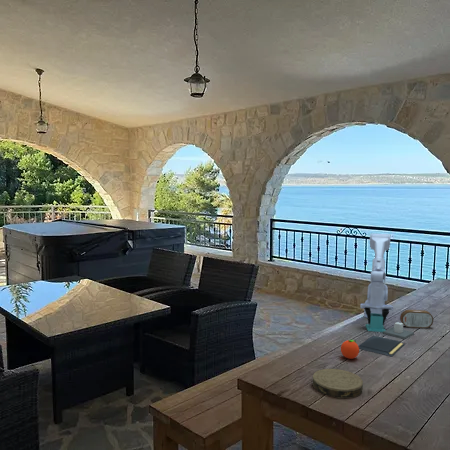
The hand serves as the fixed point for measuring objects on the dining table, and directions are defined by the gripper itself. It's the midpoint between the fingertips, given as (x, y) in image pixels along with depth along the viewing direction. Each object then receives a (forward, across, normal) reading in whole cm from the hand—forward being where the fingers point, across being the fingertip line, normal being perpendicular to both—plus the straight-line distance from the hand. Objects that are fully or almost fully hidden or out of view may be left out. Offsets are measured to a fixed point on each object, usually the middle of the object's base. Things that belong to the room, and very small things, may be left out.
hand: (375, 324), depth 201 cm
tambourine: (+3, -22, -68) cm, 71 cm away
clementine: (+3, -16, -40) cm, 43 cm away
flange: (+2, 0, 0) cm, 2 cm away
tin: (+3, +20, +8) cm, 22 cm away
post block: (+2, +9, -5) cm, 11 cm away
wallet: (+3, -1, -24) cm, 24 cm away
